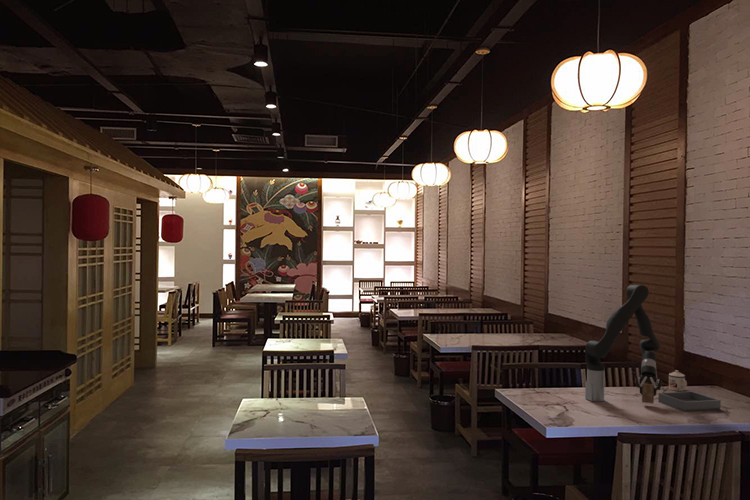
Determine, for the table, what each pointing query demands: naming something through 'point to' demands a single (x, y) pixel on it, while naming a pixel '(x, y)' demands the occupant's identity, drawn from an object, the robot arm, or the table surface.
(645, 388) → the walnut crate
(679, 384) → the teacup with lid
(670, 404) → the grey tray
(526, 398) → the table surface
